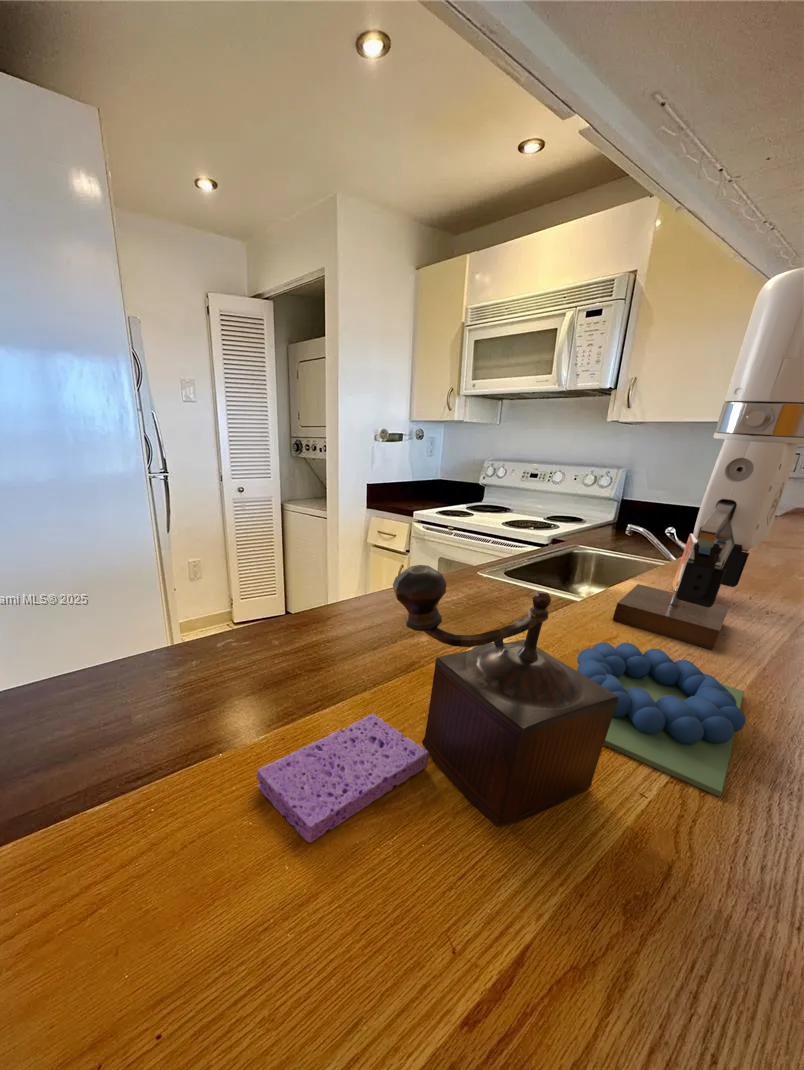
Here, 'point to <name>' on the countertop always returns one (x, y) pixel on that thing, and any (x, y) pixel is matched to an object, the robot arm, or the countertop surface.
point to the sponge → (339, 775)
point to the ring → (685, 721)
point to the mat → (672, 742)
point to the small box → (684, 561)
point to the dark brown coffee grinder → (507, 710)
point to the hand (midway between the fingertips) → (707, 592)
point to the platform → (671, 616)
